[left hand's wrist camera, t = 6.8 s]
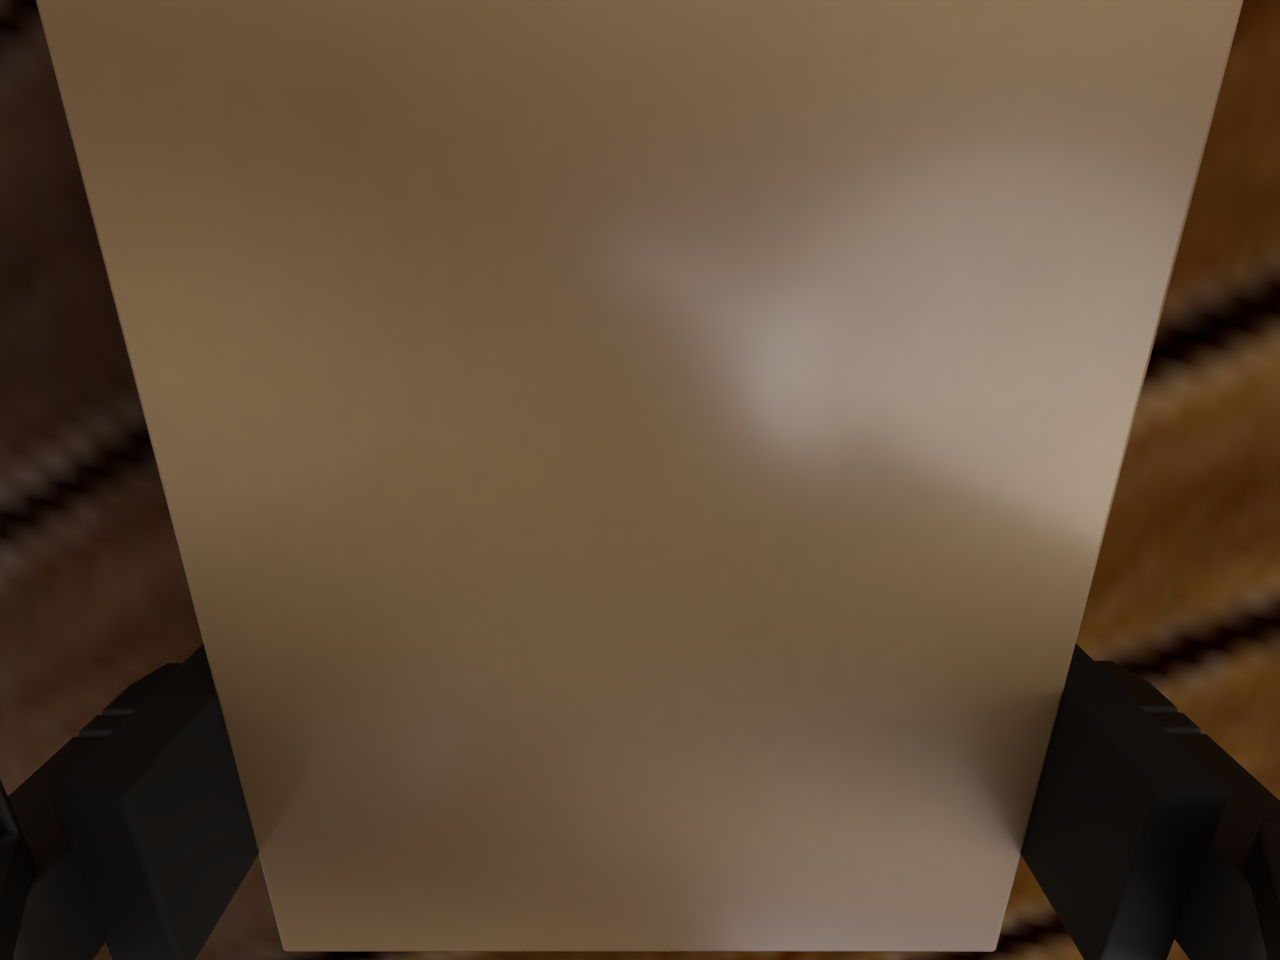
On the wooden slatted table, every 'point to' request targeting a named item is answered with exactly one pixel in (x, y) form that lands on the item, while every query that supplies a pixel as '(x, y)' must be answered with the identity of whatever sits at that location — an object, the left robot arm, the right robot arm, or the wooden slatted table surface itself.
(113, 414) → the wooden slatted table surface
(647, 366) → the cabinet
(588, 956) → the wooden slatted table surface
